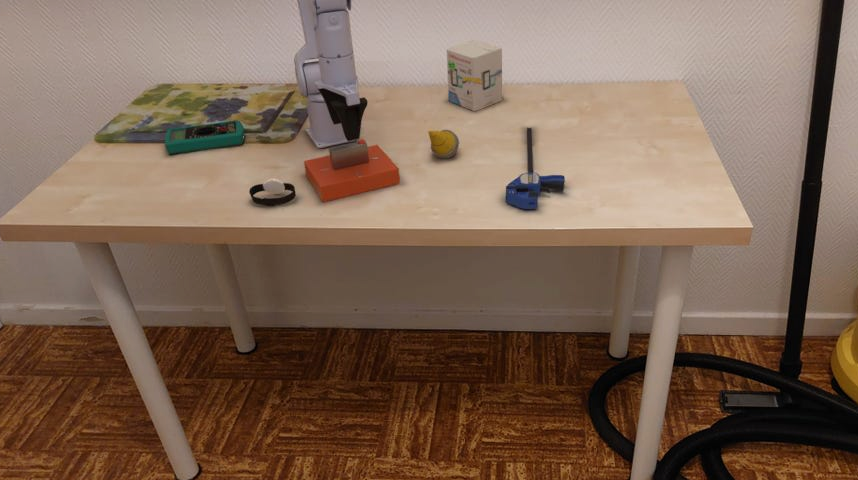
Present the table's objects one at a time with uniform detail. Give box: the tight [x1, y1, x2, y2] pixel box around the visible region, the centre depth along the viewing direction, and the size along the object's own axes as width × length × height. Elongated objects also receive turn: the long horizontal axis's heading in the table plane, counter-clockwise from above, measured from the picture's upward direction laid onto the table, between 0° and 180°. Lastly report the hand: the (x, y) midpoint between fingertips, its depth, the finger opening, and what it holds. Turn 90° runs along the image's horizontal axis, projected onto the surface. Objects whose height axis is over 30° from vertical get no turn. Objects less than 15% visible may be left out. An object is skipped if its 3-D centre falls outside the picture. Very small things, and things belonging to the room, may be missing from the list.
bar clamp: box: [505, 127, 566, 210], centre depth 134 cm, size 32×2×10 cm
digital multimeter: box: [164, 119, 246, 155], centre depth 146 cm, size 7×15×3 cm, turn 105°
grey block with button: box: [328, 139, 369, 170], centre depth 129 cm, size 6×2×4 cm, turn 115°
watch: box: [248, 177, 297, 207], centre depth 126 cm, size 8×5×4 cm, turn 91°
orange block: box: [303, 144, 401, 203], centre depth 131 cm, size 14×11×3 cm
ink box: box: [446, 39, 503, 112], centre depth 157 cm, size 8×8×12 cm
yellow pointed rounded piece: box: [427, 129, 460, 160], centre depth 136 cm, size 5×5×10 cm
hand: (346, 130), depth 127 cm, fingers open, 7 cm apart
